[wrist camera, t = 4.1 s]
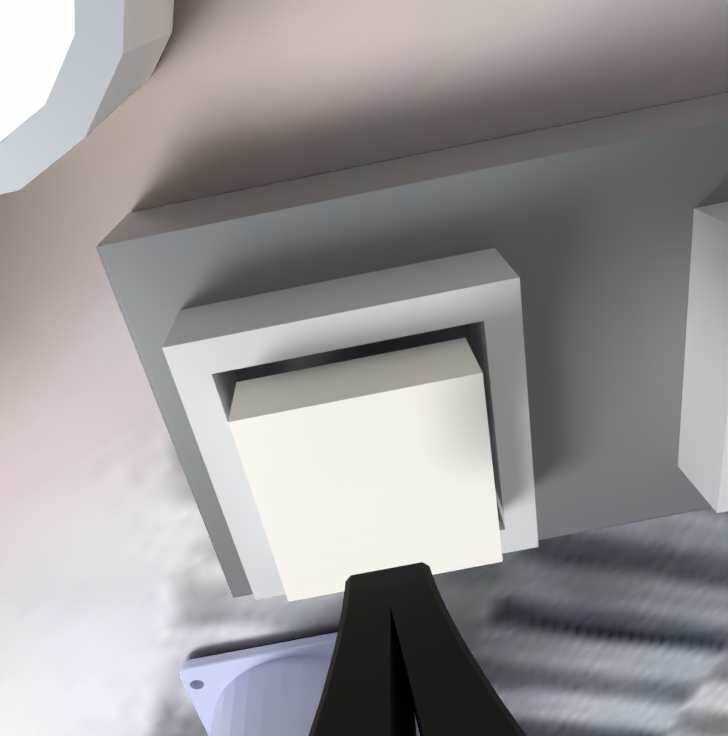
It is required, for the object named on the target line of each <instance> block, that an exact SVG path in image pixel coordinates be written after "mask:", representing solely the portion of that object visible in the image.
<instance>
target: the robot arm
mask: <svg viewBox="0 0 728 736" xmlns="http://www.w3.org/2000/svg"><path fill="white" fill-rule="evenodd" d="M180 678H181V680H182V682H183V684H184V686H185V688H186V690H187V692H188V694H189V696H190V699H191V701H192V703H193V705H194V707H195V709H196V711H197V713H198V715H199V717H200V719H201V721H202V723H203V725H204V727H205V729H206V731H207V733H208V735H209V736H416V726H415V716H416V720H417V725H418V729H419V733H420V736H526V734H525V733H524V732H523V730H522V729H521V727H520V726H519V725H518V723H517V722H516V720H515V719H514V718H513V716H512V715H511V713H510V712H509V710H508V709H507V708H506V706H505V705H504V703H503V702H502V700H501V699H500V698H499V696H498V695H497V693H496V691H495V690H494V688H493V687H492V685H491V684H490V682H489V681H488V679H487V678H486V676H485V675H484V673H483V671H482V670H481V668H480V666H479V665H478V663H477V662H476V660H475V658H474V657H473V655H472V653H471V652H470V650H469V648H468V647H467V645H466V644H465V642H464V640H463V638H462V637H461V635H460V633H459V631H458V629H457V628H456V626H455V624H454V622H453V620H452V618H451V616H450V614H449V612H448V610H447V608H446V606H445V604H444V602H443V600H442V598H441V596H440V593H439V591H438V589H437V586H436V584H435V581H434V578H433V576H432V573H431V569H430V566H429V565H427V564H425V563H423V562H420V563H415V564H409V565H404V566H398V567H393V568H388V569H382V570H377V571H372V572H366V573H361V574H355V575H351V576H350V577H349V578H348V579H347V580H346V581H345V592H344V600H343V607H342V613H341V618H340V623H339V628H338V632H335V633H330V634H324V635H319V636H314V637H308V638H303V639H298V640H292V641H287V642H281V643H276V644H271V645H265V646H260V647H255V648H249V649H244V650H239V651H233V652H228V653H222V654H217V655H212V656H206V657H201V658H196V659H191V660H188V661H185V662H184V663H183V664H182V666H181V670H180ZM414 712H415V713H414Z"/></svg>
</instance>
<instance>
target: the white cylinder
mask: <svg viewBox="0 0 728 736" xmlns="http://www.w3.org/2000/svg"><path fill="white" fill-rule="evenodd" d="M173 14H174V0H0V194H4V193H9V192H13V191H18V190H20V189H22V188H23V187H24V186H25V185H27V184H28V183H29V182H30V181H32V180H33V179H34V178H35V177H37V176H38V175H39V174H40V173H42V172H43V171H44V170H45V169H46V168H48V167H49V166H50V165H51V164H53V163H54V162H55V161H56V160H58V159H59V158H60V157H61V156H63V155H64V154H65V153H66V152H68V151H69V150H70V149H71V148H73V147H74V146H75V145H76V144H78V143H79V142H80V141H81V140H83V139H84V138H85V137H86V136H87V135H88V134H89V133H90V132H91V131H93V130H94V129H95V128H96V127H97V126H98V125H99V124H100V123H101V122H102V121H103V120H104V119H105V118H106V117H108V116H109V115H110V114H111V113H112V112H113V111H114V110H115V109H116V108H117V107H118V106H119V105H120V104H122V103H123V102H124V101H125V100H126V99H127V98H128V97H129V96H130V95H131V94H132V93H133V92H134V91H135V90H137V89H138V88H139V87H140V86H141V85H142V84H143V83H144V82H145V81H146V80H147V79H148V78H149V77H151V76H152V74H153V72H154V70H155V68H156V65H157V63H158V61H159V59H160V57H161V55H162V53H163V51H164V49H165V47H166V45H167V42H168V40H169V38H170V36H171V34H172V32H173Z"/></svg>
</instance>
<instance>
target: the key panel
mask: <svg viewBox="0 0 728 736" xmlns="http://www.w3.org/2000/svg"><path fill="white" fill-rule="evenodd" d="M96 248H97V251H98V253H99V256H100V259H101V261H102V264H103V266H104V269H105V271H106V274H107V276H108V279H109V281H110V284H111V287H112V289H113V292H114V294H115V297H116V299H117V302H118V304H119V307H120V310H121V312H122V315H123V317H124V320H125V322H126V325H127V327H128V330H129V332H130V335H131V338H132V340H133V343H134V345H135V348H136V350H137V353H138V355H139V358H140V361H141V363H142V366H143V368H144V371H145V373H146V376H147V378H148V381H149V383H150V386H151V389H152V391H153V394H154V396H155V399H156V401H157V404H158V406H159V409H160V412H161V414H162V417H163V419H164V422H165V424H166V427H167V429H168V432H169V435H170V437H171V440H172V442H173V445H174V447H175V450H176V452H177V455H178V457H179V460H180V463H181V465H182V468H183V470H184V473H185V475H186V478H187V480H188V483H189V486H190V488H191V491H192V493H193V496H194V498H195V501H196V503H197V506H198V508H199V511H200V514H201V516H202V519H203V521H204V524H205V526H206V529H207V531H208V534H209V537H210V539H211V542H212V544H213V547H214V549H215V552H216V554H217V557H218V559H219V562H220V565H221V567H222V570H223V572H224V575H225V577H226V580H227V582H228V585H229V588H230V590H231V593H232V595H233V598H234V597H240V596H245V595H250V594H253V595H254V598H255V600H259V599H264V598H269V597H275V596H280V595H285V594H286V593H285V590H284V587H283V584H282V581H281V578H280V575H279V572H278V569H277V567H276V564H275V561H274V558H273V555H272V552H271V549H270V546H269V543H268V540H267V537H266V534H265V531H264V528H263V525H262V522H261V519H260V516H259V513H258V510H257V507H256V504H255V501H254V498H253V495H252V492H251V489H250V486H249V483H248V480H247V477H246V474H245V471H244V468H243V465H242V462H241V459H240V456H239V454H238V451H237V448H236V445H235V442H234V439H233V436H232V433H231V430H230V427H229V424H228V420H229V415H230V410H231V406H232V401H233V396H234V391H235V387H236V382H240V381H245V380H250V379H255V378H260V377H266V376H271V375H276V374H281V373H286V372H291V371H296V370H301V369H306V368H312V367H317V366H322V365H327V364H332V363H337V362H342V361H347V360H353V359H358V358H363V357H368V356H373V355H378V354H383V353H388V352H394V351H399V350H404V349H409V348H414V347H419V346H424V345H429V344H434V343H440V342H445V341H450V340H455V339H460V338H466V340H467V342H468V344H469V346H470V348H471V350H472V352H473V354H474V356H475V358H476V360H477V362H478V364H479V366H480V368H481V370H482V372H483V380H484V389H485V399H486V408H487V417H488V427H489V436H490V445H491V455H492V464H493V473H494V483H495V492H496V501H497V511H498V520H499V529H500V539H501V548H502V554H503V553H509V552H514V551H519V550H525V549H530V548H535V547H538V540H543V539H548V538H553V537H558V536H564V535H569V534H574V533H580V532H585V531H590V530H596V529H601V528H606V527H612V526H617V525H622V524H628V523H633V522H638V521H643V520H649V519H654V518H659V517H665V516H670V515H675V514H681V513H686V512H691V511H697V510H702V509H707V508H713V509H714V510H715V511H716V512H717V513H721V512H727V511H728V92H725V93H720V94H715V95H710V96H705V97H700V98H695V99H690V100H685V101H680V102H675V103H670V104H665V105H660V106H655V107H650V108H645V109H640V110H635V111H630V112H626V113H621V114H616V115H611V116H606V117H601V118H596V119H591V120H586V121H581V122H576V123H571V124H566V125H561V126H556V127H551V128H546V129H541V130H536V131H531V132H526V133H521V134H516V135H511V136H506V137H502V138H497V139H492V140H487V141H482V142H477V143H472V144H467V145H462V146H457V147H452V148H447V149H442V150H437V151H432V152H427V153H422V154H417V155H412V156H407V157H402V158H397V159H392V160H387V161H382V162H378V163H373V164H368V165H363V166H358V167H353V168H348V169H343V170H338V171H333V172H328V173H323V174H318V175H313V176H308V177H303V178H298V179H293V180H288V181H283V182H278V183H273V184H268V185H263V186H258V187H254V188H249V189H244V190H239V191H234V192H229V193H224V194H219V195H214V196H209V197H204V198H199V199H194V200H189V201H184V202H179V203H174V204H169V205H164V206H159V207H154V208H149V209H144V210H139V211H134V212H130V213H129V214H128V215H127V216H126V217H125V218H124V219H123V220H122V221H121V222H120V223H119V224H118V225H117V226H116V227H115V228H114V229H113V230H112V231H111V232H110V233H109V234H108V235H107V236H106V237H105V238H104V239H103V240H102V241H101V242H100V243H99V244H98V245H97V247H96Z"/></svg>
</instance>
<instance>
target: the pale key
mask: <svg viewBox="0 0 728 736" xmlns="http://www.w3.org/2000/svg"><path fill="white" fill-rule="evenodd" d="M228 424H229V427H230V430H231V433H232V436H233V439H234V442H235V445H236V448H237V451H238V454H239V456H240V459H241V462H242V465H243V468H244V471H245V474H246V477H247V480H248V483H249V486H250V489H251V492H252V495H253V498H254V501H255V504H256V507H257V510H258V513H259V516H260V519H261V522H262V525H263V528H264V531H265V534H266V537H267V540H268V543H269V546H270V549H271V552H272V555H273V558H274V561H275V564H276V567H277V569H278V572H279V575H280V578H281V581H282V584H283V587H284V590H285V593H286V596H287V599H288V602H290V601H295V600H301V599H306V598H311V597H317V596H322V595H327V594H333V593H338V592H343V591H345V581H346V580H347V579H348V578H349V577H350V576H351V575H355V574H361V573H366V572H372V571H377V570H382V569H388V568H393V567H398V566H404V565H409V564H415V563H420V562H423V563H425V564H427V565H429V566H430V569H431V573H432V575H434V574H439V573H445V572H450V571H455V570H460V569H466V568H471V567H476V566H482V565H487V564H492V563H498V562H503V557H502V548H501V539H500V529H499V520H498V511H497V501H496V492H495V483H494V473H493V464H492V455H491V445H490V436H489V427H488V417H487V408H486V399H485V389H484V380H483V372H482V370H481V368H480V366H479V364H478V362H477V360H476V358H475V356H474V354H473V352H472V350H471V348H470V346H469V344H468V342H467V340H466V338H460V339H455V340H450V341H445V342H440V343H434V344H429V345H424V346H419V347H414V348H409V349H404V350H399V351H394V352H388V353H383V354H378V355H373V356H368V357H363V358H358V359H353V360H347V361H342V362H337V363H332V364H327V365H322V366H317V367H312V368H306V369H301V370H296V371H291V372H286V373H281V374H276V375H271V376H266V377H260V378H255V379H250V380H245V381H240V382H236V387H235V391H234V396H233V401H232V406H231V410H230V415H229V420H228Z"/></svg>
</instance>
